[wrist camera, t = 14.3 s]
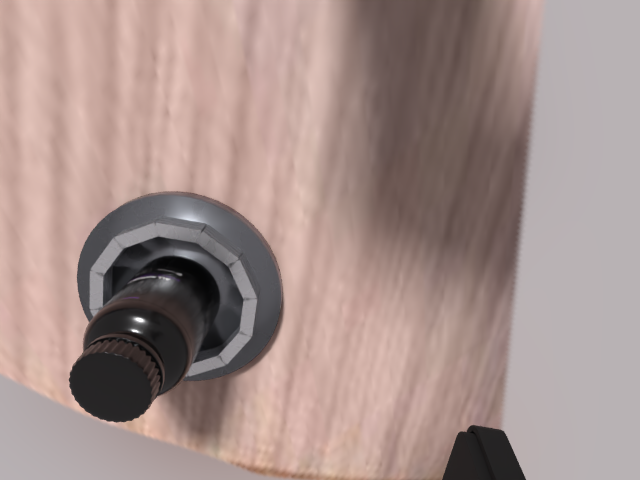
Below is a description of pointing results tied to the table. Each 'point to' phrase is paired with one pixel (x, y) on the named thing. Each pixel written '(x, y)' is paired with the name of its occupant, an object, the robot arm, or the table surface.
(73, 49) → the table surface
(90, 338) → the supplement bottle
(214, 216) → the rosette plate
